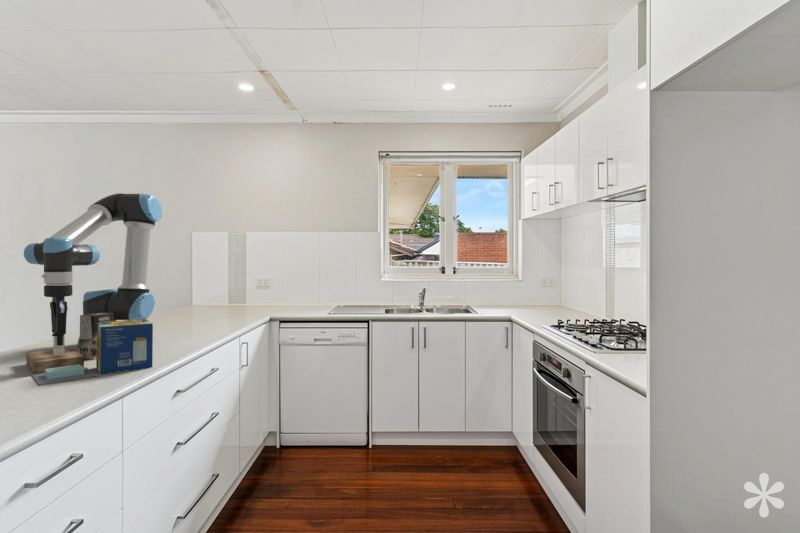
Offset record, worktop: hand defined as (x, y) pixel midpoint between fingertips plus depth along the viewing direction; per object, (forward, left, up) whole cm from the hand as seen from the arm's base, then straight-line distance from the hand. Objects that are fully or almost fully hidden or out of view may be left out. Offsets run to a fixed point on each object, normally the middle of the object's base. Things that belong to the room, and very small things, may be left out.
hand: (59, 354), depth 146 cm
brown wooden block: (+1, -4, -5) cm, 6 cm away
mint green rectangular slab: (0, +12, -2) cm, 12 cm away
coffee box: (-13, -11, -5) cm, 18 cm away
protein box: (-16, +13, -5) cm, 21 cm away
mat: (+1, +12, -5) cm, 13 cm away
